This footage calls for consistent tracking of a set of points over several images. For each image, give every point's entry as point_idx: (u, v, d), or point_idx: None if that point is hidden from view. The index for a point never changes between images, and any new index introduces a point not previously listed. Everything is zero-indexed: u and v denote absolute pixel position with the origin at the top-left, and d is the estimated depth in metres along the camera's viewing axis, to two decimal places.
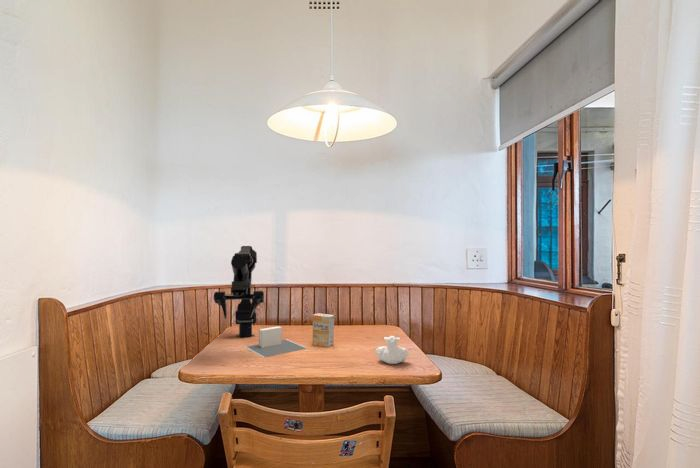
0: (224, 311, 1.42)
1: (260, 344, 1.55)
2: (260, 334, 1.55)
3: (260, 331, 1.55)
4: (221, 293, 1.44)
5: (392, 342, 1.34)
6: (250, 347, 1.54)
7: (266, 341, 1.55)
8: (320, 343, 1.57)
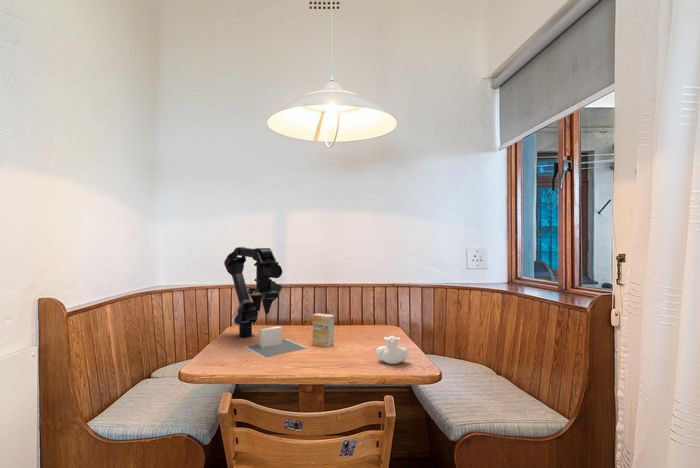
0: None
1: (260, 344, 1.55)
2: (260, 334, 1.55)
3: (260, 331, 1.55)
4: None
5: (392, 342, 1.34)
6: (250, 347, 1.54)
7: (266, 341, 1.55)
8: (320, 343, 1.57)
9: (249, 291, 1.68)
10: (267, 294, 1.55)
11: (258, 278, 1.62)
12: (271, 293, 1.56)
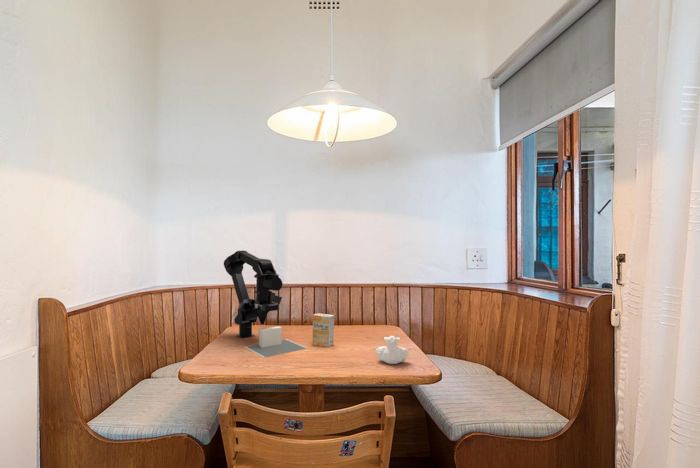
0: None
1: (260, 344, 1.55)
2: (260, 334, 1.55)
3: (260, 331, 1.55)
4: None
5: (392, 342, 1.34)
6: (250, 347, 1.54)
7: (266, 341, 1.55)
8: (320, 343, 1.57)
9: (249, 302, 1.68)
10: (267, 307, 1.55)
11: (258, 290, 1.62)
12: (271, 306, 1.57)
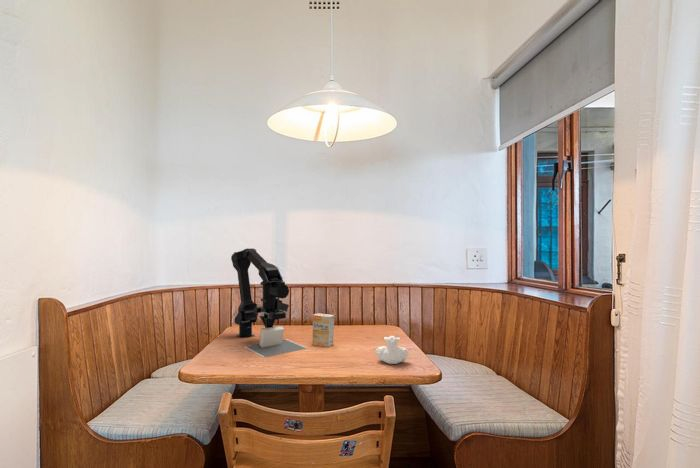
0: None
1: (260, 343, 1.55)
2: (262, 334, 1.54)
3: (262, 331, 1.54)
4: None
5: (392, 342, 1.34)
6: (250, 347, 1.54)
7: (267, 342, 1.55)
8: (320, 343, 1.57)
9: (255, 311, 1.63)
10: (274, 315, 1.51)
11: (265, 298, 1.57)
12: (278, 314, 1.52)
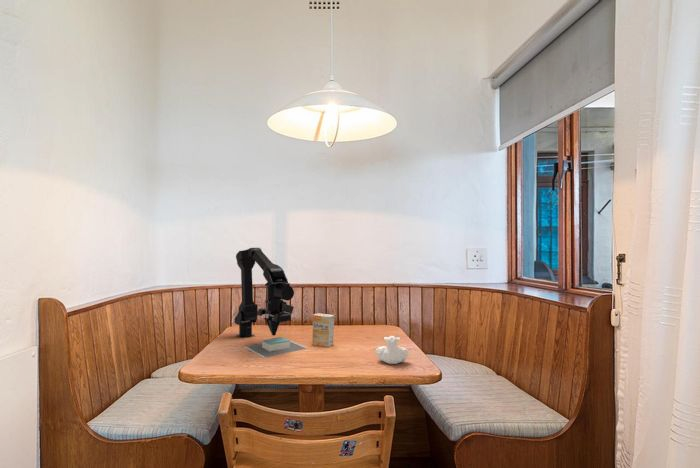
0: None
1: (263, 344, 1.53)
2: (267, 346, 1.50)
3: (269, 346, 1.49)
4: None
5: (392, 342, 1.34)
6: (250, 347, 1.54)
7: None
8: (320, 343, 1.57)
9: (259, 312, 1.60)
10: (279, 317, 1.47)
11: (269, 299, 1.53)
12: (284, 316, 1.48)
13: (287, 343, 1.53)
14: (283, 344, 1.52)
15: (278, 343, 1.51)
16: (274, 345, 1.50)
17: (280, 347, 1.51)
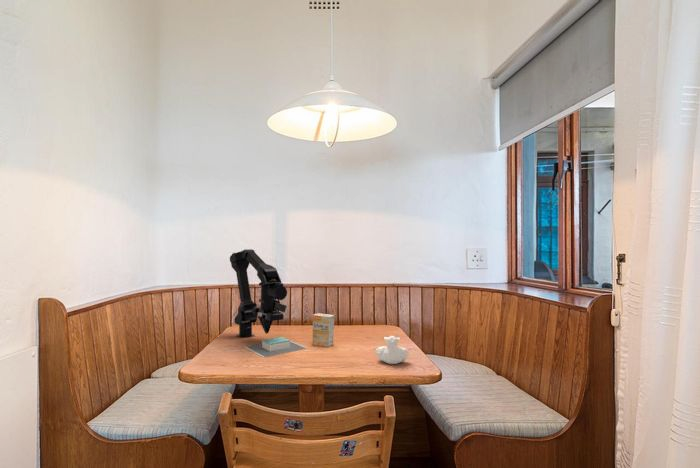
0: None
1: (263, 344, 1.53)
2: (267, 346, 1.50)
3: (269, 346, 1.49)
4: None
5: (392, 342, 1.34)
6: (250, 347, 1.54)
7: None
8: (320, 343, 1.57)
9: (253, 311, 1.64)
10: (272, 316, 1.52)
11: (263, 299, 1.58)
12: (276, 315, 1.53)
13: (287, 343, 1.53)
14: (283, 344, 1.52)
15: (278, 343, 1.51)
16: (274, 345, 1.50)
17: (280, 347, 1.51)
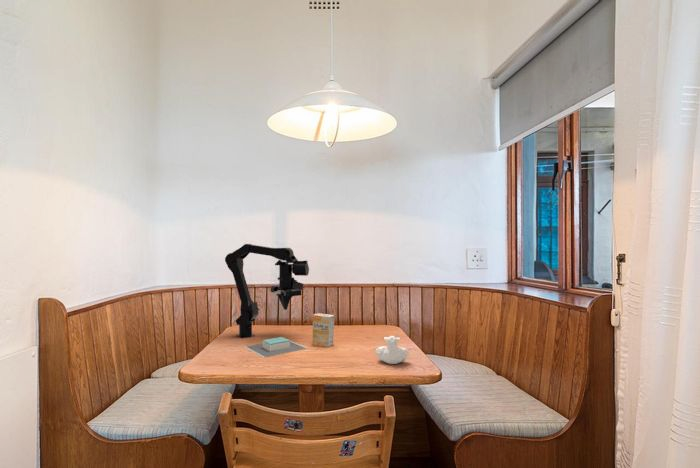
0: None
1: (263, 344, 1.53)
2: (267, 346, 1.50)
3: (269, 346, 1.49)
4: None
5: (392, 342, 1.34)
6: (250, 347, 1.54)
7: None
8: (320, 343, 1.57)
9: (272, 289, 1.74)
10: (291, 292, 1.62)
11: (281, 277, 1.68)
12: (295, 291, 1.63)
13: (287, 343, 1.53)
14: (283, 344, 1.52)
15: (278, 343, 1.51)
16: (274, 345, 1.50)
17: (280, 347, 1.51)
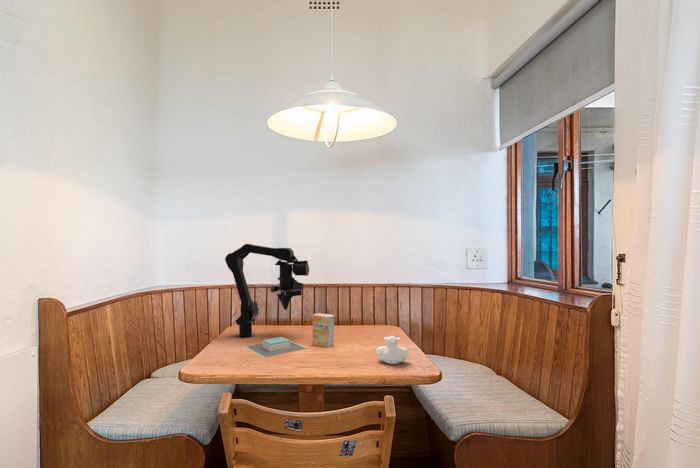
0: None
1: (263, 344, 1.53)
2: (267, 346, 1.50)
3: (269, 346, 1.49)
4: None
5: (392, 342, 1.34)
6: (250, 347, 1.54)
7: None
8: (320, 343, 1.57)
9: (272, 289, 1.74)
10: (291, 292, 1.62)
11: (281, 277, 1.68)
12: (295, 291, 1.63)
13: (287, 343, 1.53)
14: (283, 344, 1.52)
15: (278, 343, 1.51)
16: (274, 345, 1.50)
17: (280, 347, 1.51)
